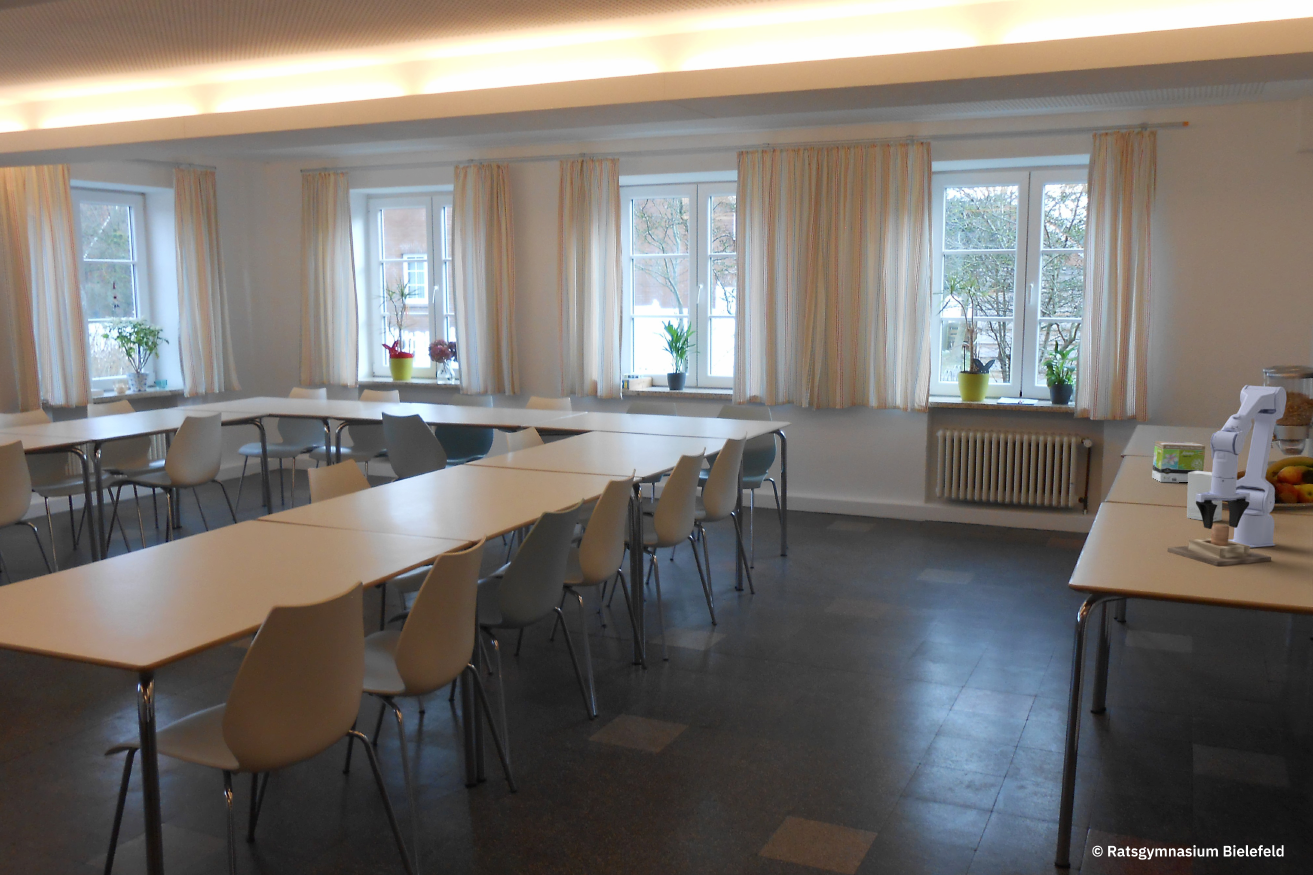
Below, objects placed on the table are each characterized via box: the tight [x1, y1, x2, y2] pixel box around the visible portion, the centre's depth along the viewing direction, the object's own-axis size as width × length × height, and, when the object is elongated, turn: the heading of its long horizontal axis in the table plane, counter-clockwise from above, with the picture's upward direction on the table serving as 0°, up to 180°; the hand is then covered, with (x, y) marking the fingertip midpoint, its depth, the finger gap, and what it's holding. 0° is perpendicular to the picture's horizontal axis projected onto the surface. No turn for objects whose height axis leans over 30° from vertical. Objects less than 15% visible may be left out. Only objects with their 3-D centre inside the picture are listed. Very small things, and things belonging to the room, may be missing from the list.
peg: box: [1210, 524, 1230, 546], centre depth 264 cm, size 4×4×7 cm
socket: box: [1167, 537, 1272, 567], centre depth 265 cm, size 18×16×4 cm
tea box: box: [1151, 440, 1206, 483], centre depth 378 cm, size 15×10×15 cm, turn 81°
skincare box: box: [1186, 470, 1223, 523], centre depth 310 cm, size 8×6×15 cm
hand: (1220, 527), depth 264 cm, fingers open, 7 cm apart
